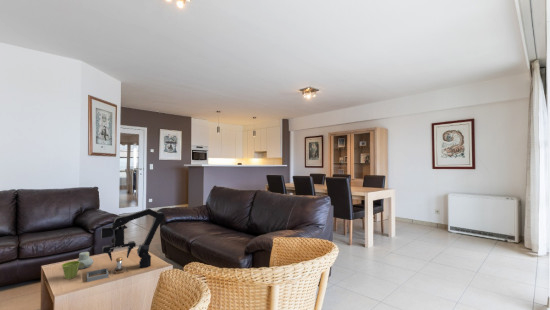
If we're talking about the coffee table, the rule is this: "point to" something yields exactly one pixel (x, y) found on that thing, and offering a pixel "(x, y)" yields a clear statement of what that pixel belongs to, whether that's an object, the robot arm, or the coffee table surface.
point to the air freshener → (84, 260)
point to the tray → (98, 275)
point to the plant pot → (70, 269)
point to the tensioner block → (114, 271)
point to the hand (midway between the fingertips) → (119, 259)
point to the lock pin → (119, 263)
